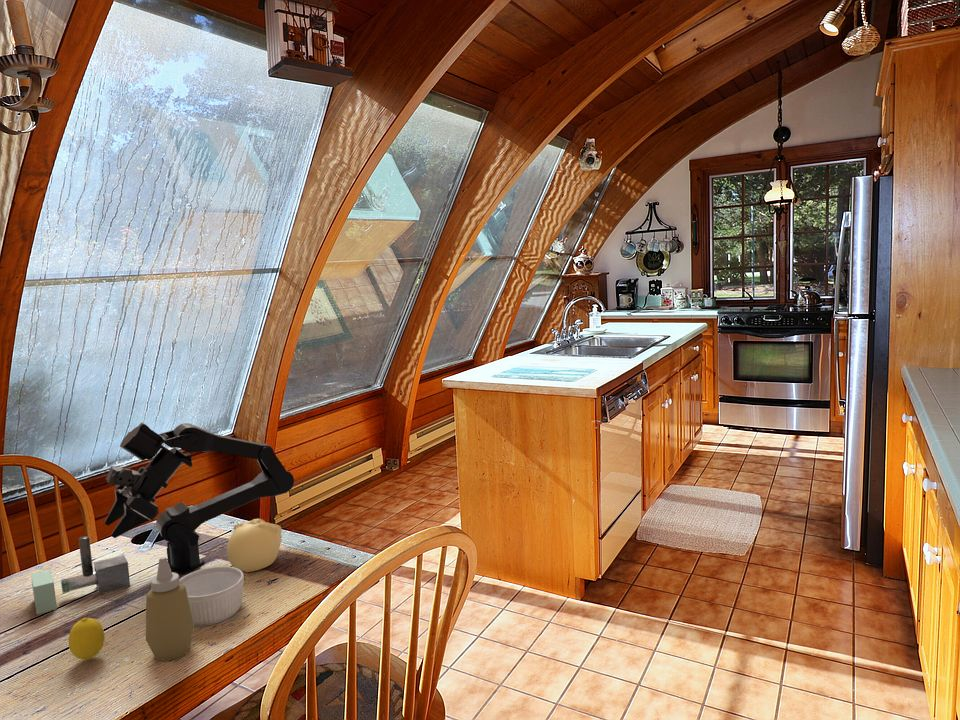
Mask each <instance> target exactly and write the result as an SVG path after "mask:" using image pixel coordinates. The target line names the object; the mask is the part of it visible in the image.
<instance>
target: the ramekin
mask: <svg viewBox="0 0 960 720" xmlns="http://www.w3.org/2000/svg"><path fill="white" fill-rule="evenodd" d="M244 579H245V577H244V571H241V570H239V569H237V568H234V567H233V566H229V565H228V566H225V565H224V566H221V565H219V566H218V565H217V566H210V567H205V568H200V569H198V570H195V571H192V572H189V573H186V575H184V576H182V577H181V578H179V581H180V584H183V585H184V586H185V587H186V591H187V595H188V600H189V605H190V609H191V614H192V619H193V623H194V626H197V627H198V626H199V627H203V626H211V625H215V624H218V623H222V622H224V621H227V620H229V619H231V618H233V616H234V615H236V614H237V613H238V611H239V609H241V606H242V602H243V586H244V585H243V584H244V583H245V580H244Z"/></svg>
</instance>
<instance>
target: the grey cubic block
mask: <svg viewBox="0 0 960 720" xmlns="http://www.w3.org/2000/svg"><path fill="white" fill-rule="evenodd" d="M128 562H129V561H128V560H127V559H126V556H125V555H124V554H123V555H119V556H115V557H110V558H107V559H103V560H98V561H95V562H93V570H94V571H96V572H97V578H98V584H95V585H96V589H97V591H99V592H98V594H99V595H102V594H103V595H104V594H105V593H106V592H107V593H110V592H113V591H117V590H121V589H124V588H123V587H125V588H127V587H126V586H128V587H131V579H130V572H129V571H130V570H129V563H128ZM120 588H121V589H120ZM107 593H106V594H107Z"/></svg>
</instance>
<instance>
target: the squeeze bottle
mask: <svg viewBox="0 0 960 720" xmlns="http://www.w3.org/2000/svg"><path fill="white" fill-rule="evenodd" d="M179 579H180V575H179V574H178V572H171V569H170V566H169V564H168V558H167V556H166V557H160V558H159V559H158V567H157V573H156V575H155V576H154V577H152V578H151V579H150V590H149V591H148V592H147V593H146V597H145V641H146V643H147V645H148V647H149V649H150V651H151V652H152V654H153V656H154V658H155V659H156V660H158V661H165V662H166V661H171V660H174V659H177V658H180V657H182V656H184V655H186V653H188V651H189V650H190V646H191V643H192V639H193V636H194V630H195V625H194V623H193V619H192V614H191V609H190V605H189V600H188V595H187V591H186V587H185V586H184V585H183V584H180V581H179Z"/></svg>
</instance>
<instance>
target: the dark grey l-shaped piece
mask: <svg viewBox="0 0 960 720" xmlns="http://www.w3.org/2000/svg"><path fill="white" fill-rule="evenodd" d="M78 546H79V555H80V565H81V570H82V574H78V575H76V576H75V575H74V576H71V577H67V578H64V579H61V580H60V585H61V590H62V591H61V592H62V594H65V593H69V592H73V591H76V590H80V589H84V588H87V587H92V586H95V585H96V584H98V578H97V572H96V571H95V570H94V564H93V557H92V550H91V540H90V536H89V535H85V536H81V537H79V538H78Z"/></svg>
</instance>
